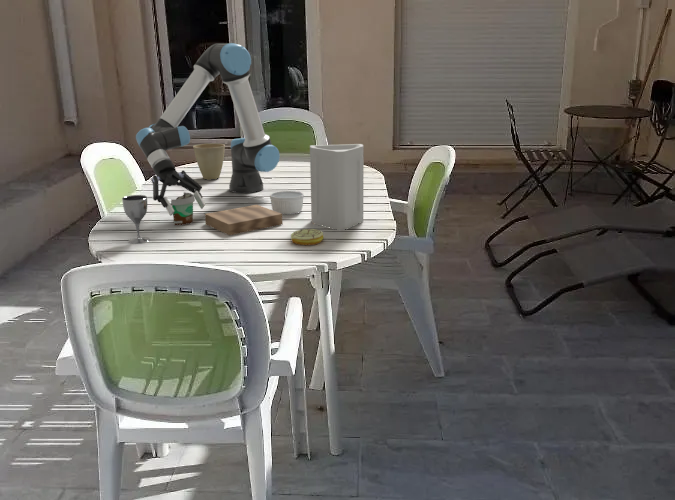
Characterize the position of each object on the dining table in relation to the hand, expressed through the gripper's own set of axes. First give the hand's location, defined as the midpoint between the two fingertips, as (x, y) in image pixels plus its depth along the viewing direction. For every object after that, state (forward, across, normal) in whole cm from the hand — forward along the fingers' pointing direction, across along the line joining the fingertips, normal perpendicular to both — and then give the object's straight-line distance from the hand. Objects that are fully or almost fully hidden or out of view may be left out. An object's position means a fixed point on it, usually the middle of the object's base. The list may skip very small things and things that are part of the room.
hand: (188, 210), depth 248 cm
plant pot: (-38, -55, -46) cm, 81 cm away
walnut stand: (+15, -12, +8) cm, 21 cm away
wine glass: (+8, +24, 0) cm, 25 cm away
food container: (+2, 0, -5) cm, 6 cm away
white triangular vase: (+34, -35, +27) cm, 56 cm away
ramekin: (+14, -36, +7) cm, 39 cm away
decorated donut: (+38, -13, +31) cm, 51 cm away
